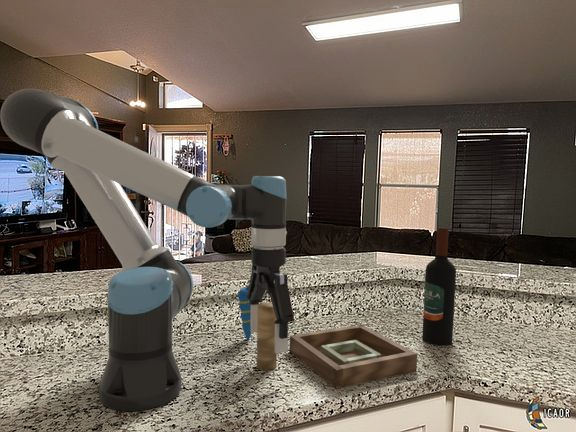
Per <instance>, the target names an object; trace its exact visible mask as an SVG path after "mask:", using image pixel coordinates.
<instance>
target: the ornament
mask: <svg viewBox="0 0 576 432" xmlns="http://www.w3.org/2000/svg"><path fill="white" fill-rule="evenodd" d="M248 287H249V284H245V287H242V288H241V289H240V290H239V291H238V294H237V297H238V301H239V303H238V308H239V310H240V319H241V327H242V331H243V333H244V337H245V338H246V340H247V341H248V340H250V338H251V335H252V333H251V304H250V302H249V300H250V299H247V292H248ZM251 294H252V293H251Z"/></svg>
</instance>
